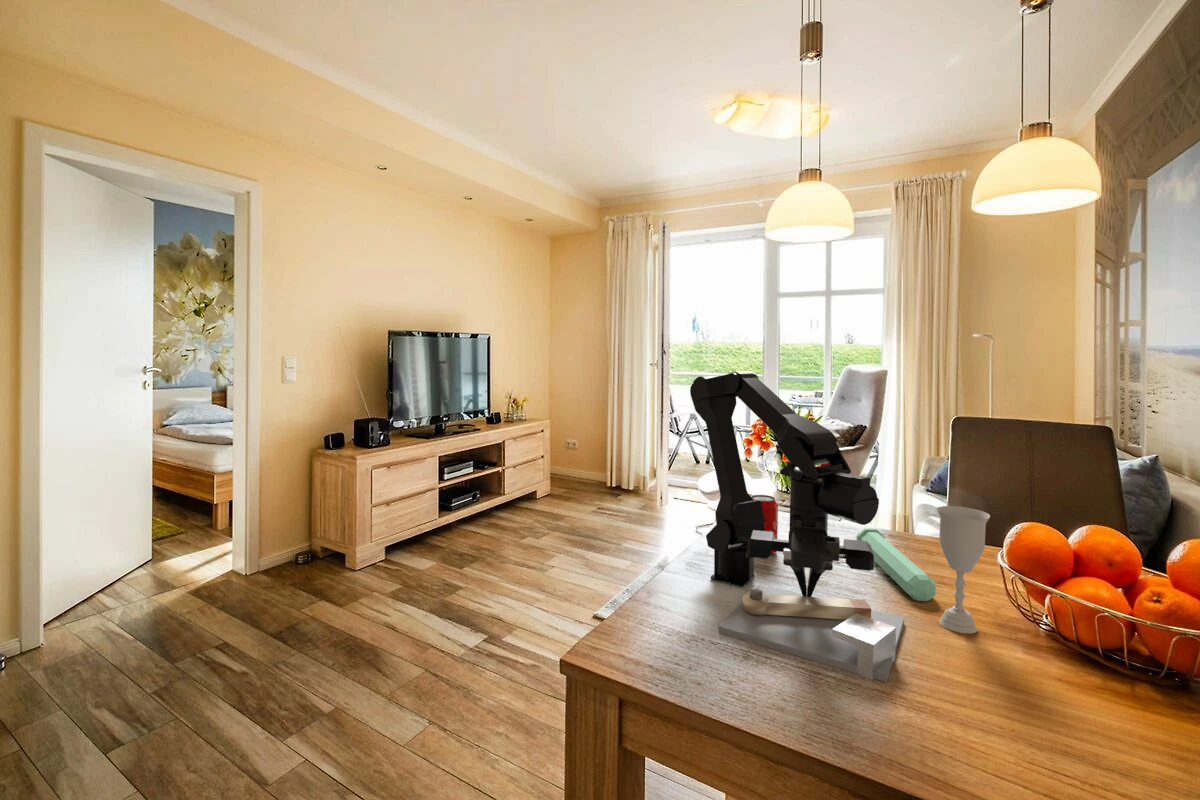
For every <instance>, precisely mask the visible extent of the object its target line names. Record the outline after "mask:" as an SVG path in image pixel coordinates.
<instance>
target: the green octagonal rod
mask: <svg viewBox="0 0 1200 800" xmlns="http://www.w3.org/2000/svg"><path fill="white" fill-rule="evenodd" d="M855 540H859V541H867V542H868V543H869V544H870V545H871V548H872V551H873V555H874V563H876V564H877V565H879V567H880V568H881V569H882V570H883V571H884V572H885V573H886V574H887V575H888V576H890V578H891V579H892V580H893V581H894V582H895V583H896V584H898V585H899V587H901V589H902V590H904V592H906V594H908V595H909V597H910V598H912V600H914V601H918V602H929V601H930V600H932V599H933V598H934V597H935V596H936V582H935V581H934V580H933V579H932V578H931V577H930V576H929V575H928V574H926V572H925V571H923V569H921V567H919V566H917V565H916V564H915V563H914V562H913V561H911V560H910V559H909V558H908V557H907V556H905V554H903V552H901V551H900V550H898V549H897V547H895V546H894V545H893V544H892V543H890V542H889V541H888V540H887V539H886V537H885V536H884V535H883V534H882V532H880V531H879V530H878V529H877V528H875V527H874V528H872V527H871V528H869V527H867V528H866V527H865V528H863V529H862V530H861V531H860V532H858V534H856V539H855Z"/></svg>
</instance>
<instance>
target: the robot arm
mask: <svg viewBox="0 0 1200 800" xmlns="http://www.w3.org/2000/svg"><path fill="white" fill-rule="evenodd" d="M689 393H690V398H691V401H692V404H693V407H694V410H695V412H696V413H697V414H698V416H700V418H701V420H703V422H705V425H706V429H707V435H708V440H709V446H710V450H711V455H712V460H713V465H714V471H715V474H716V475H715V476H716V481H717V484H718V489H719V496H720V497H719V499H718V500H719V501H718V503H717V507H716V510H715V521H716V522H715V523H716V524H715V525H714V526H713V528H711V530H709V532H708V533H707V534H706V535H705V538H706V543H707V547H709V548H711V549H712V550H713V551H714V553H713V554H714V557H713V558H714V559H713V561H714V562H713V565H714V566H713V567H714V568H713V571H714V573H713V574H711V576H710V580H712V581H716V582H720V583H725V584H728V585H732V586H737V587H742V588H743V587H744V586H746V585H747V584H748V583H749V582H750V581H751V580H752V579H753V578H754V577H755V558H757V559H765V560H767V559H768V558H769V557H770V556H772V555H773V554H772V551H777V552H780V553H782V555H783V559H782V560H783V565H785V566H786V567H787V566H788V567H789V568H790V569H791V570H792V571H793V573H794V575H795V578H796V579H797V583H798V585H799V586H798V587H799V588H800V592H801V594H802V595H803V596H804V597H811V596H813V594H814V592H815V589H816V586H817V584H818V582H819V580H820V579H821V577H822V575H823V574H824V573H825V572H826V571H833V569H834V567H833V563H834V562H839V561H840V559H845V564H846V565H847V566H848V567H849V568H850V569H851V570H857V571H858V570H860V571H868V572H871V571H874V567H875V566H874V563H875V561H874V555H873V551H872V548H871V545H870V544H869V543H868V542H867V541H859V540H856V539H847V538H843V544H842V545H840V544H841V543H840V542H841V541H840V537H838V536H831V535H828V523H829V522H828V520H829V519H828V518H829V517H828V516H829V515H830V516H833V517H837V518H839V519H842V520H845V521H848V522H852V523H854V524H858V525H862V526H865V525H866V526H867V525H868V524H869V523H871V522H872V521H874V518H875V517H876V515H877V513H878V510H879V505H880V499H879V498H878V494H877V491H876V489H875V488H874V487H873V486H871V478H870V477H869V476H864V475H853V474H851V473H852V470H851V468H850V465H848V462H847V460H846V459H845V456H844V455H843V453H842V452H841V450H840V448H839V446H838V444H837V442H838V439H837V438H836V435H835V434H834V433H833V432H832V431H831V430H829V429H827V428H826V427H825V426H823V425H821V424H820V423H818V422H816V421H814V420H811V419H808V418H806V417H803V416H801V415H799V414H798V413H797V412H796V411H794V410H793V409H792V408H791V407H790V406H789V405H788V404H786V402H784V401H783V400H782V399H781V398H780V397H779V396H778V395H777V394H775V392H774V391H772V390H771V389H770V388H769V387H768V386H767V385H766V384H764V382H762V381H761V380H760V379H759V376H758V375H757V373H754V372H753V371H752V370H751V371H747V370H745V371H744V370H743V371H741V370H740V371H732V372H731V373H726V374H724V375H707V376H706V375H704V376H702V375H701V376H697V377H696V378H694V380H693V382H692V383H691V385H690V388H689ZM737 398H738V399H739V400H740V401H741V402H742V403H743V404H744V405H745V406H746V407H747V408H748V409H749V410H751V412H753V413H754V415H755V416H757V418H759V420H760V421H761V422H763V423H764V424H765V426H766V427H768V429H770V430H771V432H772V433H773V434H774V435H775V436H776V442H777V446H778V447H777V448H779V449H780V451H781V453H782V454H783V455H784V457H785V458H786V459H787V461H788V463H787V465H786V466H784V467H783V468H781V469H780V470H779V474H780V475H782V476H786V477H789V478H790V480H789V481H790V482H789V489H790V490H789V531H788V539H778V538H777V539H774V533H773V532H768V531H764V530H765V526H764V522H766V520H765V518H764V515H763V511H762V504H761V502H760V500H756V501H754V500H753V499H752V498H751V496H752V495H750V494H749V493H748V490H747V484H746V481H745V475H744V471H743V467H742V462H741V457H740V451H739V448H738V447H739V446H738V442H737V438H736V434H735V428H734V423H733V415H734V412H735V409H736V406H737ZM825 464H826V465H825ZM818 465H819V466H818ZM805 568H806V569H809V574H808V578H806V570H805ZM807 580H808V581H807Z"/></svg>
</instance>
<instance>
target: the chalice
mask: <svg viewBox="0 0 1200 800" xmlns="http://www.w3.org/2000/svg"><path fill="white" fill-rule="evenodd" d="M936 511H937V513H938V515H939V520H940V521H939V537H938V540H939V544H940V547H941V549H942V553H943V555H944V557H945V559H946V561H947V563H948V565H949V568H950V569H952V570H953V571H955V573H956V578H955V580H954V582H953V583H954V585H955V589H956V590H955V592H953V593H952V595H953V597H954V599H955V600H954V601H955V603H954V605H952V606H951V607H948V608H946V609H945V610H944V613H943V614H942V616H941V618H940V619H939V622H938V623H939V624H940V626H942V627H943V628H945V629H947V630H950V631H952V632H955V633H959V634H975V633H977V632H978V628H977V626H976V622H975V620H974V618H973V615H972V614H971V613H970V612H969V611H968V610H966V609H965V607H964V605H963V601H964V599H966V597H967V595H966V594H965V593H964V587H965V586H966V585H967V584H966V583H965V577H964V575H965V574H966V573H970V572H972V570H973V569H974V567H975V566H976V564H977V563H978V561H979V560H981V559H980V558H981V556H982V555H983V552H984V550H985V546H986V529H987V528H986V524H987V522H988V521H989V519H990V518H991V515H990V514H989V513H988V512H985V511H984V510H983V511H982V510H980V509H977V508H976V509H975V508H971V507H964V506H958V505H956V506H954V505H944V506H943V505H942V506H939V507H937V508H936Z"/></svg>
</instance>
